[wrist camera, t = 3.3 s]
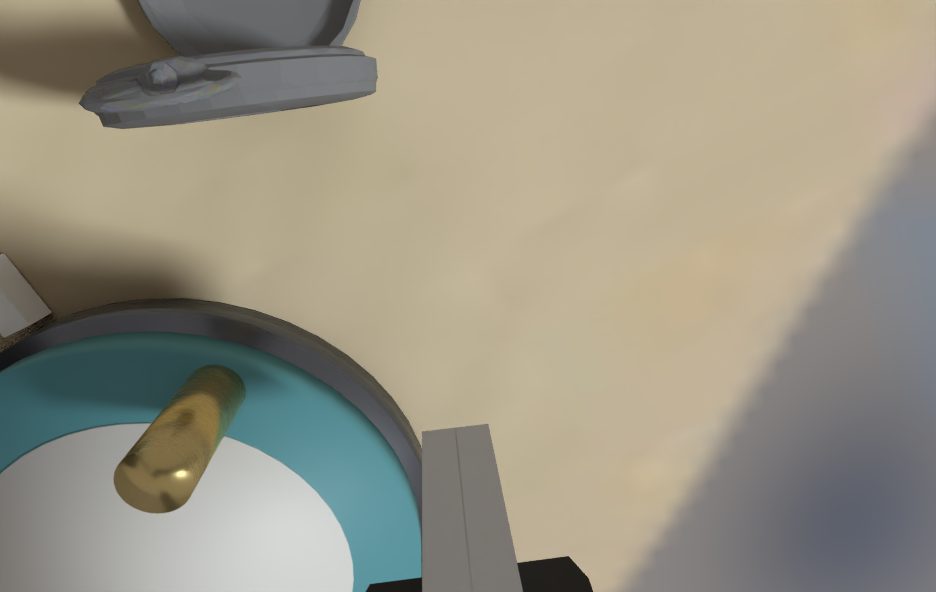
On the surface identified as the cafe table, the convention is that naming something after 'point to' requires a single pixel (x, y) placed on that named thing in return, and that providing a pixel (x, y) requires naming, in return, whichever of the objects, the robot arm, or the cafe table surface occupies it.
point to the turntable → (193, 474)
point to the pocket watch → (237, 63)
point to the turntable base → (18, 306)
